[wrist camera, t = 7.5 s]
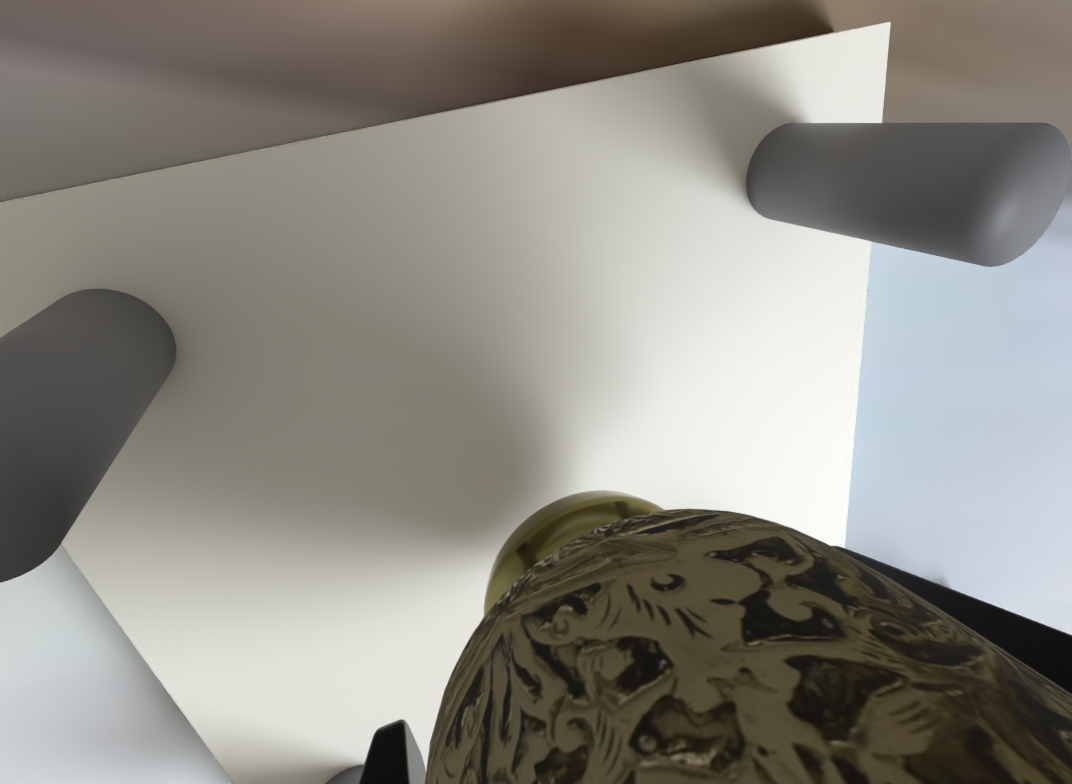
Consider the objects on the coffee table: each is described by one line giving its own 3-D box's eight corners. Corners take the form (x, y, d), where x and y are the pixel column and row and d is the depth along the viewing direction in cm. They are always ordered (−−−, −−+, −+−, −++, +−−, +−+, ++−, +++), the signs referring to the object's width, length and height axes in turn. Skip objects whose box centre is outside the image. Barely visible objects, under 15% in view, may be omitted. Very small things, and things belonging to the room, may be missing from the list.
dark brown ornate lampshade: (250, 602, 9) (-32, 2314, 2) (616, 268, 9) (1874, 906, 2) (545, 758, 13) (810, 1538, 6) (808, 530, 12) (1436, 1065, 5)
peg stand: (836, 31, 11) (1197, -34, 6) (807, 605, 18) (969, 770, 13) (-96, 221, 8) (-662, 352, 3) (301, 821, 15) (289, 1127, 10)
